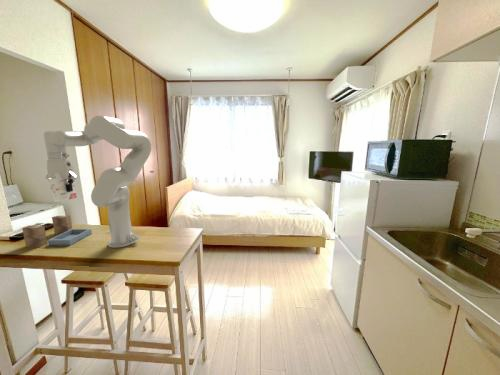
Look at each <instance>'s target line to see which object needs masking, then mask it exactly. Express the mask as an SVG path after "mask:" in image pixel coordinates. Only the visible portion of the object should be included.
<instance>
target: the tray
mask: <svg viewBox="0 0 500 375" xmlns="http://www.w3.org/2000/svg"><path fill="white" fill-rule="evenodd" d="M92 231H93V230H92V228H72V229H71V230H69V231H66V232H64V233H62V234H58V235H56V236H53V237H51V238H49V239H47V245H48V246H50V247H51V246H53V247H54V246H55V247H57V246H58V247H59V246H60V247H61V246H62V247H63V246H73V245H75V244H76V243H77V242H80V241H81V240H84V239H85V238H88V237H89V236H90V235H92V234H93V232H92Z"/></svg>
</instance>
